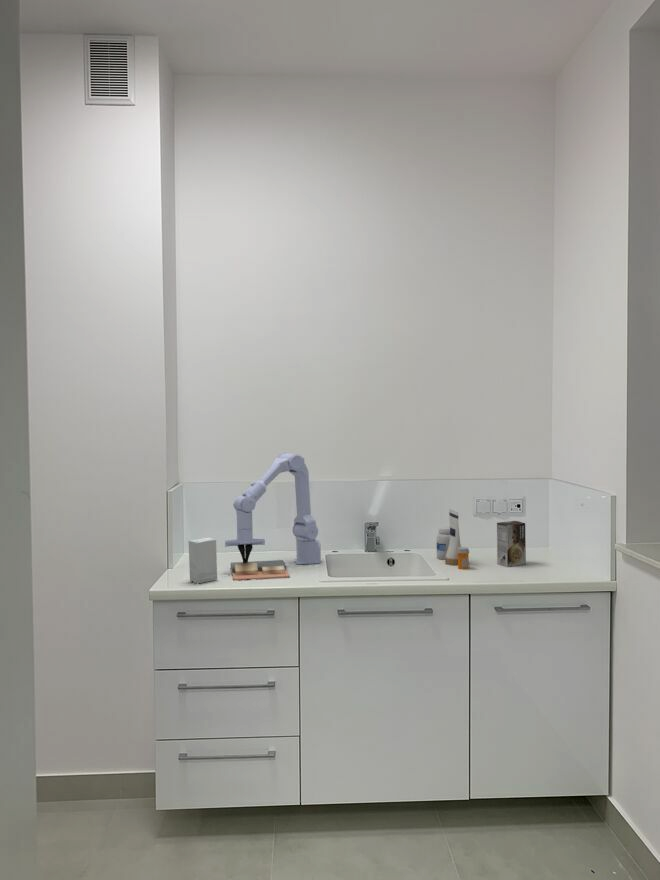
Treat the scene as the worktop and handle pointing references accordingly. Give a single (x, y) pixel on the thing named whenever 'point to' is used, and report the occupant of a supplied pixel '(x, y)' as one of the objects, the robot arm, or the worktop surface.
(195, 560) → the skincare box
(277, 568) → the inner tile
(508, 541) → the coffee box
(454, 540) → the toiletry set
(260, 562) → the grey board
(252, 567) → the outer tile
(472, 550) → the worktop surface
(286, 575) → the mat
